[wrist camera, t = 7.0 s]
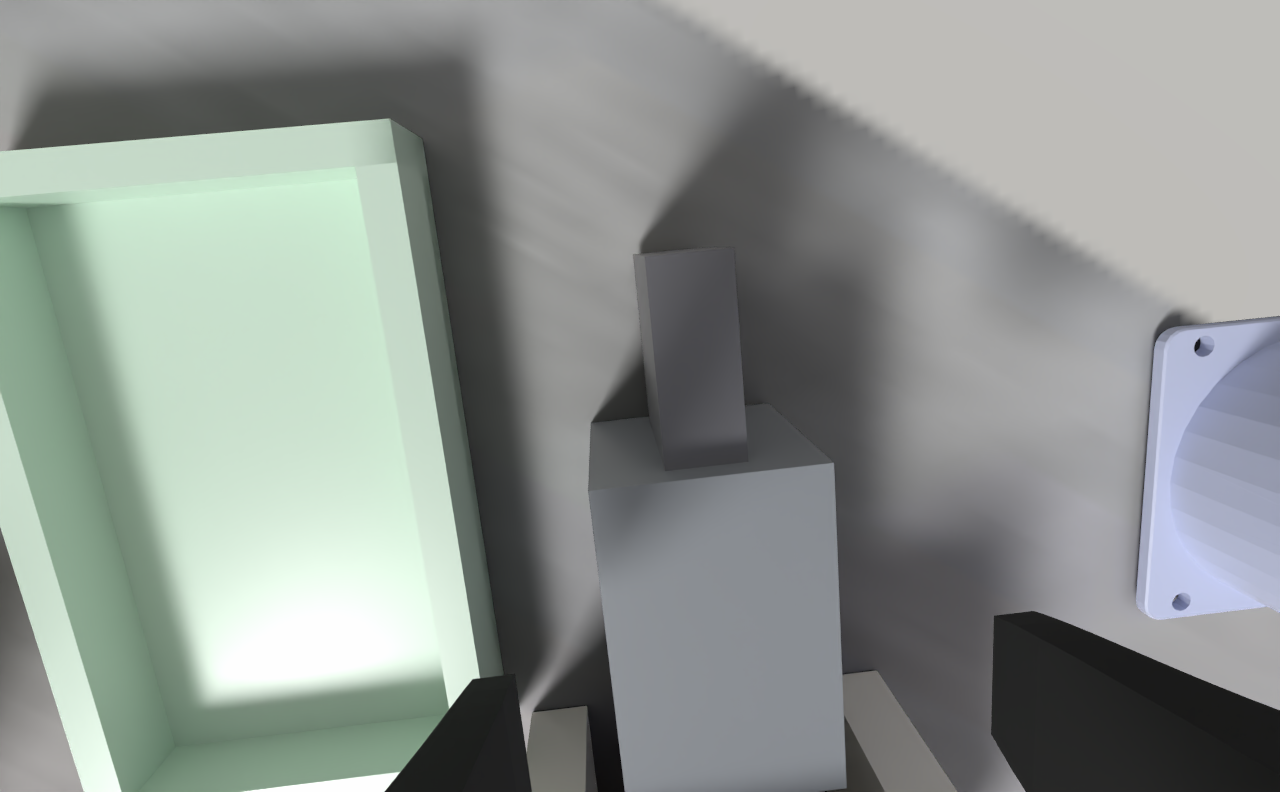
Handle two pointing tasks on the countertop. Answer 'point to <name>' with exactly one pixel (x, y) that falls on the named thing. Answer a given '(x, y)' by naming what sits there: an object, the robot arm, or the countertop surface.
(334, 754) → the tray
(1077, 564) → the countertop surface
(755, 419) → the grey bottle-shaped block
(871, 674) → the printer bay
